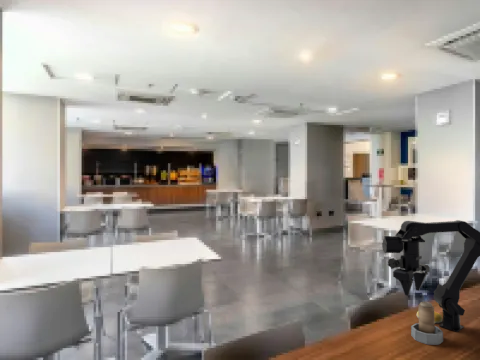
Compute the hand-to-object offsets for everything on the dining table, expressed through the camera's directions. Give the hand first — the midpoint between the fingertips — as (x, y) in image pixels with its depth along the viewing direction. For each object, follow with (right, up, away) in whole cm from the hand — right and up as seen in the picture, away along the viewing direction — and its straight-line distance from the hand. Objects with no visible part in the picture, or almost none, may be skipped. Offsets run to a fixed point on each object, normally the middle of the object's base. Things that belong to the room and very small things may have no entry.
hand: (412, 292), depth 130 cm
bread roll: (+10, -13, +6) cm, 18 cm away
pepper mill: (0, -12, -11) cm, 16 cm away
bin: (0, -13, -11) cm, 17 cm away
